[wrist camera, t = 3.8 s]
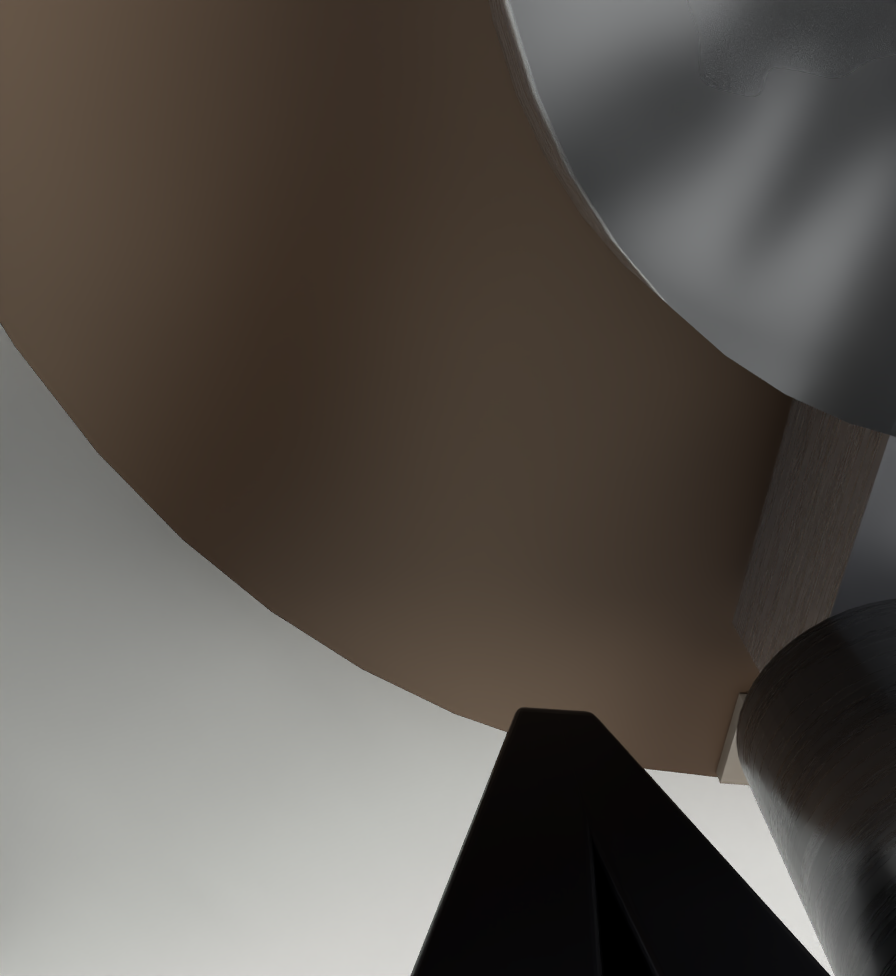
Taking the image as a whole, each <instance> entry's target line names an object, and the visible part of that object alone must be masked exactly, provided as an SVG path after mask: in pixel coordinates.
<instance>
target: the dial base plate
mask: <svg viewBox="0 0 896 976" xmlns="http://www.w3.org/2000/svg"><path fill="white" fill-rule="evenodd" d="M0 323H1V325H2V326H3V328H4V329H5V331H6V333H7V334H8V336H9V338H10V339H11V341H12V342H13V344H14V346H15V347H16V348H17V350H18V351H19V352H20V354H21V355H22V356H23V357H24V359H25V360H26V361H27V363H28V364H29V365H30V366H31V368H32V369H33V370H34V372H35V373H36V374H37V375H38V377H39V378H40V379H41V381H42V382H43V383H44V384H45V386H46V387H47V388H48V390H49V391H50V392H51V393H52V395H53V396H54V397H55V399H56V400H57V401H58V402H59V404H60V405H61V406H62V408H63V409H64V410H65V411H66V413H67V414H68V415H69V417H70V418H71V419H72V420H73V422H74V423H75V424H76V426H77V427H78V428H79V429H80V431H81V432H82V433H83V435H84V436H85V437H86V438H87V440H88V441H89V442H90V444H91V445H92V446H93V447H94V449H95V450H96V451H97V452H98V453H99V454H100V456H101V457H102V458H103V459H104V460H105V461H106V462H107V463H108V464H109V465H110V466H111V467H112V468H113V469H114V470H115V471H116V472H117V473H118V474H119V475H120V476H121V477H122V478H123V479H124V480H125V481H126V482H127V483H128V484H129V485H130V486H131V487H132V488H133V489H134V490H135V491H136V492H137V493H138V494H139V495H140V496H141V497H142V498H143V500H144V501H145V502H146V503H147V504H148V505H149V506H150V507H151V508H152V509H153V510H154V511H155V512H156V513H157V514H158V515H159V516H160V517H161V518H162V519H163V520H164V521H165V522H166V523H167V524H168V525H169V526H170V527H171V528H172V529H173V530H174V531H175V532H176V533H177V534H178V535H179V536H180V537H181V538H182V539H183V540H184V541H185V542H186V543H187V544H189V545H190V546H191V547H192V548H194V549H195V550H196V551H197V552H199V553H200V554H201V555H202V556H204V557H205V558H206V559H207V560H208V561H210V562H211V563H212V564H213V565H215V566H216V567H217V568H218V569H220V570H221V571H222V572H223V573H224V574H226V575H227V576H228V577H229V578H231V579H232V580H233V581H234V582H236V583H237V584H238V585H239V586H240V587H242V588H243V589H244V590H245V591H247V592H248V593H249V594H250V595H252V596H253V597H254V598H255V599H256V600H258V601H259V602H260V603H261V604H263V605H264V606H265V607H266V608H268V609H269V610H270V611H271V612H273V613H274V614H276V615H278V616H279V617H281V618H282V619H284V620H285V621H287V622H289V623H290V624H292V625H293V626H295V627H297V628H298V629H300V630H301V631H303V632H304V633H306V634H308V635H309V636H311V637H312V638H314V639H315V640H317V641H319V642H320V643H322V644H323V645H325V646H326V647H328V648H330V649H331V650H333V651H334V652H336V653H337V654H339V655H341V656H342V657H344V658H345V659H347V660H348V661H350V662H352V663H353V664H355V665H356V666H358V667H359V668H361V669H363V670H365V671H367V672H369V673H371V674H373V675H375V676H377V677H380V678H382V679H384V680H386V681H388V682H390V683H392V684H394V685H396V686H398V687H400V688H402V689H404V690H406V691H408V692H411V693H413V694H415V695H417V696H419V697H421V698H423V699H425V700H427V701H429V702H431V703H433V704H435V705H437V706H439V707H442V708H444V709H446V710H448V711H450V712H452V713H454V714H457V715H460V716H463V717H465V718H468V719H471V720H474V721H477V722H480V723H483V724H485V725H488V726H491V727H494V728H497V729H500V730H503V731H505V732H508V730H509V727H510V725H511V722H512V720H513V717H514V715H515V713H516V711H517V710H518V709H519V708H521V707H531V708H546V709H561V710H577V711H587V712H591V713H592V714H594V715H595V716H596V717H597V718H598V719H599V720H600V721H601V722H602V723H603V724H604V725H605V726H606V728H607V729H608V730H609V731H610V732H611V733H612V734H613V735H614V736H615V738H616V739H617V740H618V741H619V742H620V743H621V744H622V745H623V746H624V748H625V749H626V750H627V751H628V752H629V753H630V754H631V755H632V756H633V757H634V759H635V760H636V761H637V762H638V763H639V764H640V765H641V766H642V767H643V768H645V769H653V770H662V771H670V772H678V773H687V774H695V775H704V776H712V777H718V779H719V781H720V783H725V784H740V785H749V783H748V781H747V779H746V777H745V775H744V772H743V770H742V767H741V764H740V761H739V758H738V752H737V745H736V734H737V724H738V719H739V714H740V711H741V708H742V705H743V703H744V700H745V697H746V695H747V693H748V692H749V690H750V688H751V686H752V684H753V682H754V681H755V679H756V678H757V677H758V675H759V674H760V672H759V670H758V668H757V667H756V665H755V663H754V661H753V660H752V658H751V656H750V654H749V652H748V651H747V649H746V647H745V645H744V643H743V642H742V640H741V638H740V636H739V634H738V633H737V631H736V629H735V627H734V625H733V624H732V621H733V617H734V613H735V610H736V606H737V602H738V599H739V595H740V591H741V588H742V584H743V580H744V577H745V573H746V569H747V566H748V562H749V558H750V555H751V551H752V548H753V544H754V540H755V537H756V533H757V529H758V526H759V522H760V518H761V515H762V511H763V507H764V504H765V500H766V496H767V493H768V489H769V485H770V482H771V478H772V474H773V471H774V467H775V463H776V460H777V456H778V453H779V449H780V445H781V442H782V438H783V434H784V431H785V427H786V423H787V420H788V416H789V412H790V409H791V405H792V401H793V398H792V397H790V396H788V395H786V394H784V393H783V392H781V391H779V390H778V389H776V388H775V387H773V386H772V385H770V384H769V383H767V382H766V381H764V380H762V379H761V378H759V377H758V376H756V375H755V374H753V373H752V372H750V371H749V370H747V369H746V368H744V367H742V366H741V365H739V364H738V363H736V362H735V361H733V360H732V359H730V358H729V357H727V356H726V355H724V354H723V353H722V352H721V351H720V350H719V349H718V348H716V347H715V346H714V345H713V344H712V343H711V342H710V341H708V340H707V339H706V338H705V337H704V336H703V335H702V334H701V333H699V332H698V331H697V330H696V329H695V328H694V327H693V326H692V325H690V324H689V323H688V322H687V321H686V320H685V319H684V318H682V317H681V316H680V315H679V314H678V313H677V312H676V311H675V310H673V309H672V308H671V307H670V306H669V305H668V304H667V303H666V302H665V301H663V300H662V299H661V298H660V297H659V296H658V295H657V294H656V293H654V292H653V291H652V290H651V289H650V288H649V287H648V286H647V285H646V284H644V283H643V282H642V281H641V280H640V279H639V278H638V277H637V276H636V275H634V274H633V273H632V272H631V271H630V270H629V269H628V268H627V267H626V266H624V265H623V264H622V263H621V261H620V260H619V259H618V258H617V257H616V255H615V254H614V253H613V252H612V251H611V250H610V248H609V247H608V246H607V245H606V244H605V243H604V241H603V240H602V239H601V238H600V237H599V235H598V234H597V233H596V232H595V231H594V230H593V228H592V227H591V226H590V225H589V224H588V222H587V221H586V220H585V219H584V218H583V217H582V215H581V214H580V212H579V211H578V209H577V207H576V206H575V204H574V203H573V201H572V200H571V198H570V196H569V195H568V193H567V192H566V190H565V188H564V187H563V185H562V184H561V182H560V181H559V179H558V177H557V176H556V174H555V173H554V171H553V170H552V168H551V166H550V165H549V163H548V162H547V160H546V158H545V156H544V154H543V152H542V149H541V147H540V145H539V143H538V141H537V139H536V137H535V134H534V132H533V130H532V128H531V126H530V124H529V121H528V119H527V117H526V115H525V113H524V111H523V108H522V106H521V104H520V102H519V100H518V98H517V95H516V92H515V89H514V86H513V83H512V80H511V77H510V74H509V70H508V67H507V64H506V61H505V58H504V55H503V52H502V48H501V45H500V42H499V39H498V36H497V33H496V30H495V27H494V23H493V19H492V14H491V8H490V3H489V0H0Z"/></svg>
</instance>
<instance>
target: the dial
mask: <svg viewBox="0 0 896 976" xmlns="http://www.w3.org/2000/svg"><path fill="white" fill-rule="evenodd" d="M489 3H490V8H491V14H492V19H493V23H494V27H495V30H496V33H497V36H498V39H499V42H500V45H501V48H502V52H503V55H504V58H505V61H506V64H507V67H508V70H509V74H510V77H511V80H512V83H513V86H514V89H515V92H516V95H517V98H518V100H519V102H520V104H521V106H522V108H523V111H524V113H525V115H526V117H527V119H528V121H529V124H530V126H531V128H532V130H533V132H534V134H535V137H536V139H537V141H538V143H539V145H540V147H541V149H542V152H543V154H544V156H545V158H546V160H547V162H548V163H549V165H550V166H551V168H552V170H553V171H554V173H555V174H556V176H557V177H558V179H559V181H560V182H561V184H562V185H563V187H564V188H565V190H566V192H567V193H568V195H569V196H570V198H571V200H572V201H573V203H574V204H575V206H576V207H577V209H578V211H579V212H580V214H581V215H582V217H583V218H584V219H585V220H586V221H587V222H588V224H589V225H590V226H591V227H592V228H593V230H594V231H595V232H596V233H597V234H598V235H599V237H600V238H601V239H602V240H603V241H604V243H605V244H606V245H607V246H608V247H609V248H610V250H611V251H612V252H613V253H614V254H615V255H616V257H617V258H618V259H619V260H620V261H621V263H622V264H623V265H624V266H626V267H627V268H628V269H629V270H630V271H631V272H632V273H633V274H634V275H636V276H637V277H638V278H639V279H640V280H641V281H642V282H643V283H644V284H646V285H647V286H648V287H649V288H650V289H651V290H652V291H653V292H654V293H656V294H657V295H658V296H659V297H660V298H661V299H662V300H663V301H665V302H666V303H667V304H668V305H669V306H670V307H671V308H672V309H673V310H675V311H676V312H677V313H678V314H679V315H680V316H681V317H682V318H684V319H685V320H686V321H687V322H688V323H689V324H690V325H692V326H693V327H694V328H695V329H696V330H697V331H698V332H699V333H701V334H702V335H703V336H704V337H705V338H706V339H707V340H708V341H710V342H711V343H712V344H713V345H714V346H715V347H716V348H718V349H719V350H720V351H721V352H722V353H723V354H724V355H726V356H727V357H729V358H730V359H732V360H733V361H735V362H736V363H738V364H739V365H741V366H742V367H744V368H746V369H747V370H749V371H750V372H752V373H753V374H755V375H756V376H758V377H759V378H761V379H762V380H764V381H766V382H767V383H769V384H770V385H772V386H773V387H775V388H776V389H778V390H779V391H781V392H783V393H784V394H786V395H788V396H790V397H792V398H793V401H792V405H791V409H790V412H789V416H788V420H787V423H786V427H785V431H784V434H783V438H782V442H781V445H780V449H779V453H778V456H777V460H776V463H775V467H774V471H773V474H772V478H771V482H770V485H769V489H768V493H767V496H766V500H765V504H764V507H763V511H762V515H761V518H760V522H759V526H758V529H757V533H756V537H755V540H754V544H753V548H752V551H751V555H750V558H749V562H748V566H747V569H746V573H745V577H744V580H743V584H742V588H741V591H740V595H739V599H738V602H737V606H736V610H735V613H734V617H733V621H732V624H733V625H734V627H735V629H736V631H737V633H738V634H739V636H740V638H741V640H742V642H743V643H744V645H745V647H746V649H747V651H748V652H749V654H750V656H751V658H752V660H753V661H754V663H755V665H756V667H757V668H758V670H759V672H760V674H759V675H758V677H757V678H756V679H755V681H754V682H753V684H752V686H751V688H750V690H749V692H748V693H747V695H746V697H745V700H744V703H743V705H742V708H741V711H740V714H739V719H738V724H737V734H736V745H737V752H738V758H739V761H740V764H741V767H742V770H743V772H744V775H745V777H746V779H747V781H748V783H749V786H750V788H751V790H752V792H753V795H754V797H755V799H756V801H757V804H758V806H759V808H760V810H761V812H762V815H763V817H764V819H765V821H766V824H767V826H768V828H769V830H770V832H771V835H772V837H773V839H774V841H775V844H776V846H777V848H778V850H779V852H780V855H781V857H782V859H783V861H784V864H785V866H786V868H787V870H788V872H789V875H790V877H791V879H792V881H793V884H794V886H795V888H796V890H797V893H798V895H799V897H800V899H801V901H802V904H803V906H804V908H805V910H806V913H807V915H808V917H809V919H810V921H811V924H812V926H813V928H814V930H815V933H816V935H817V937H818V939H819V941H820V944H821V946H822V948H823V950H824V953H825V955H826V957H827V959H828V961H829V964H830V966H831V968H832V970H833V973H834V975H835V976H896V0H489Z"/></svg>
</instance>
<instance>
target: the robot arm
mask: <svg viewBox="0 0 896 976" xmlns="http://www.w3.org/2000/svg"><path fill="white" fill-rule="evenodd" d="M411 976H830V975H829V974H828V972H827V971H826V970H825V969H824V968H823V967H822V966H821V965H820V964H819V962H818V961H817V960H816V959H815V958H814V957H813V956H812V955H811V954H810V953H809V951H808V950H807V949H806V948H805V947H804V946H803V945H802V944H801V943H800V941H799V940H798V939H797V938H796V937H795V936H794V935H793V934H792V933H791V931H790V930H789V929H788V928H787V927H786V926H785V925H784V924H783V923H782V921H781V920H780V919H779V918H778V917H777V916H776V915H775V914H774V913H773V912H772V910H771V909H770V908H769V907H768V906H767V905H766V904H765V903H764V902H763V900H762V899H761V898H760V897H759V896H758V895H757V894H756V893H755V892H754V890H753V889H752V888H751V887H750V886H749V885H748V884H747V883H746V882H745V880H744V879H743V878H742V877H741V876H740V875H739V874H738V873H737V872H736V871H735V869H734V868H733V867H732V866H731V865H730V864H729V863H728V862H727V861H726V859H725V858H724V857H723V856H722V855H721V854H720V853H719V852H718V851H717V849H716V848H715V847H714V846H713V845H712V844H711V843H710V842H709V841H708V839H707V838H706V837H705V836H704V835H703V834H702V833H701V832H700V831H699V830H698V828H697V827H696V826H695V825H694V824H693V823H692V822H691V821H690V820H689V818H688V817H687V816H686V815H685V814H684V813H683V812H682V811H681V810H680V808H679V807H678V806H677V805H676V804H675V803H674V802H673V801H672V800H671V798H670V797H669V796H668V795H667V794H666V793H665V792H664V791H663V790H662V789H661V787H660V786H659V785H658V784H657V783H656V782H655V781H654V780H653V779H652V777H651V776H650V775H649V774H648V773H647V772H646V771H645V770H644V769H643V767H642V766H641V765H640V764H639V763H638V762H637V761H636V760H635V759H634V757H633V756H632V755H631V754H630V753H629V752H628V751H627V750H626V749H625V748H624V746H623V745H622V744H621V743H620V742H619V741H618V740H617V739H616V738H615V736H614V735H613V734H612V733H611V732H610V731H609V730H608V729H607V728H606V726H605V725H604V724H603V723H602V722H601V721H600V720H599V719H598V718H597V717H596V716H595V715H594V714H592V713H591V712H587V711H577V710H561V709H546V708H531V707H521V708H519V709H518V710H517V711H516V713H515V715H514V717H513V720H512V722H511V725H510V727H509V730H508V732H507V735H506V737H505V740H504V742H503V745H502V747H501V750H500V752H499V755H498V757H497V760H496V763H495V765H494V768H493V770H492V773H491V775H490V778H489V780H488V783H487V785H486V788H485V790H484V793H483V795H482V798H481V800H480V803H479V805H478V808H477V810H476V813H475V815H474V818H473V820H472V823H471V825H470V828H469V830H468V833H467V835H466V838H465V840H464V843H463V845H462V848H461V850H460V853H459V855H458V858H457V860H456V863H455V865H454V868H453V870H452V873H451V875H450V878H449V880H448V883H447V885H446V888H445V891H444V893H443V896H442V898H441V901H440V903H439V906H438V908H437V911H436V913H435V916H434V918H433V921H432V923H431V926H430V928H429V931H428V933H427V936H426V938H425V941H424V943H423V946H422V948H421V951H420V953H419V956H418V958H417V961H416V963H415V966H414V968H413V971H412V973H411Z"/></svg>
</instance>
